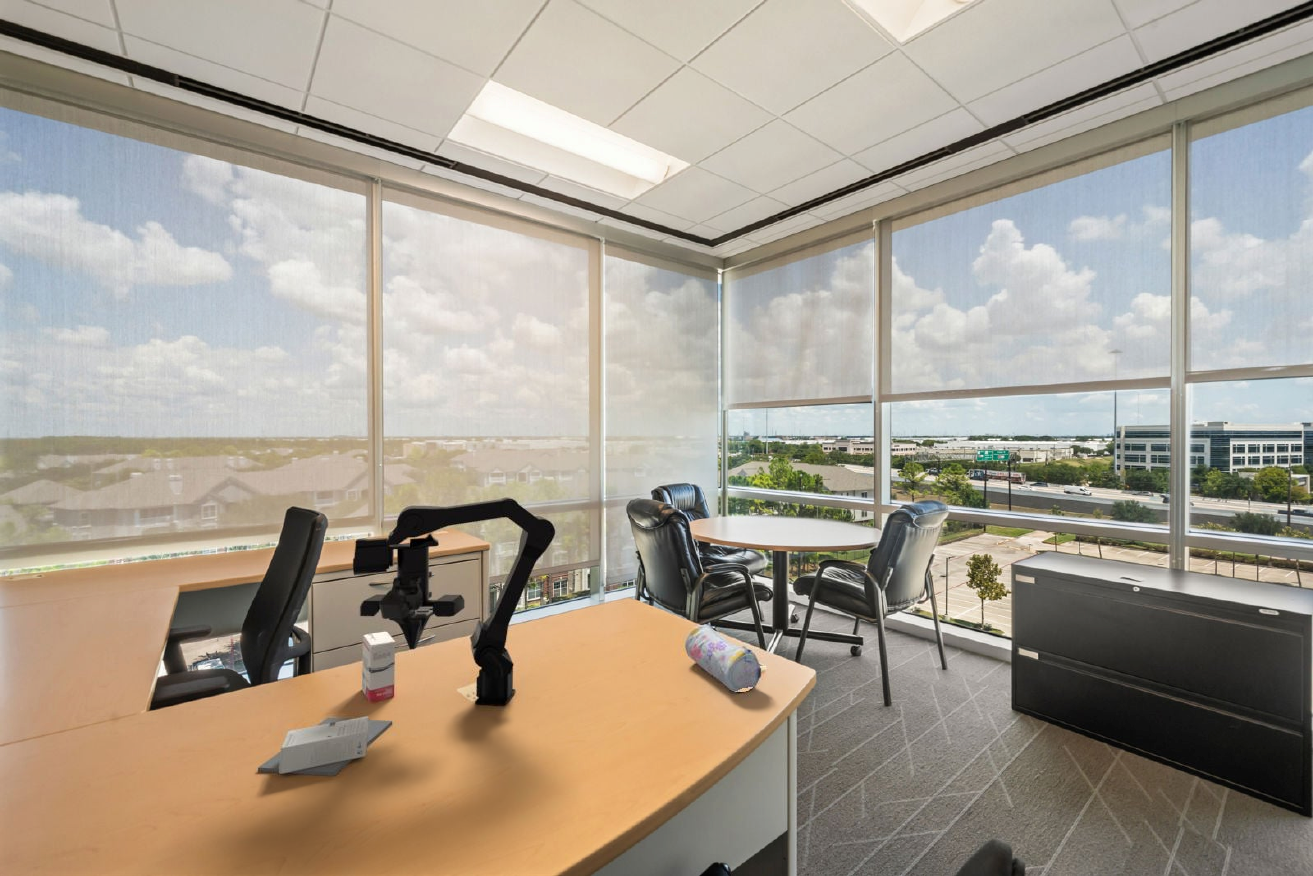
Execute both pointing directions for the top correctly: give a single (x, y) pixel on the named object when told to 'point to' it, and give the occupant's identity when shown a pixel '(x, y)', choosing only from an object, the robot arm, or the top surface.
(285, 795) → the top surface
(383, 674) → the ink box
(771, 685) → the top surface
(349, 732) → the skincare box
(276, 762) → the mat
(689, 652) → the pencil case
